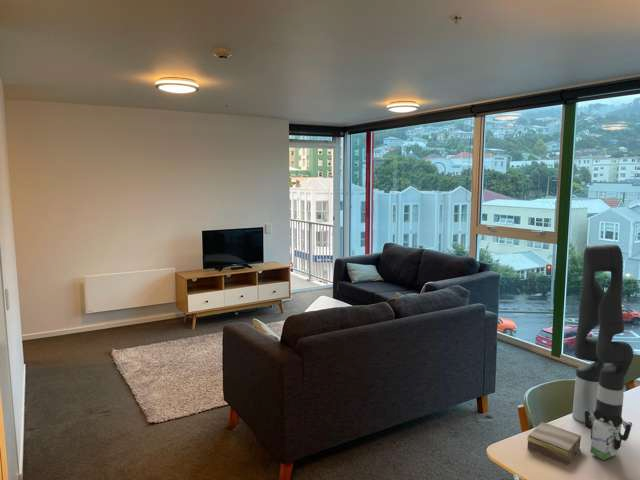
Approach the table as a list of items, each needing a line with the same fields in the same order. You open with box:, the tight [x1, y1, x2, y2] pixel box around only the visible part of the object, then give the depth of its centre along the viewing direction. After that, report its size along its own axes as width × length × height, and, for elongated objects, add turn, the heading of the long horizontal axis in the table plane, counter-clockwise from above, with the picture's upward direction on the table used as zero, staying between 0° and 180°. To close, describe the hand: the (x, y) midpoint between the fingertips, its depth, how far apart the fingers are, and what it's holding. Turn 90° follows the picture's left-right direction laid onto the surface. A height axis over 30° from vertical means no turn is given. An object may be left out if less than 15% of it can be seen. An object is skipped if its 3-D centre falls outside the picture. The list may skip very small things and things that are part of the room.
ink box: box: [590, 419, 623, 461], centre depth 160 cm, size 8×5×12 cm, turn 117°
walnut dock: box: [526, 421, 582, 466], centre depth 164 cm, size 14×13×5 cm
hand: (605, 444), depth 160 cm, fingers closed on ink box, 6 cm apart
